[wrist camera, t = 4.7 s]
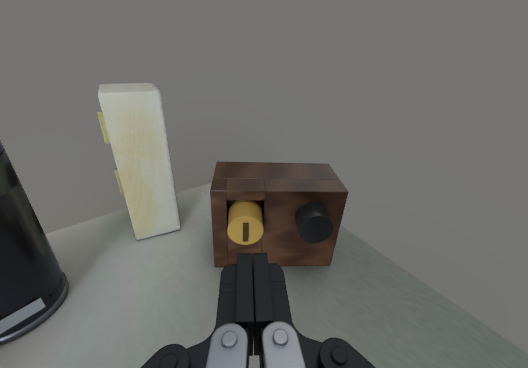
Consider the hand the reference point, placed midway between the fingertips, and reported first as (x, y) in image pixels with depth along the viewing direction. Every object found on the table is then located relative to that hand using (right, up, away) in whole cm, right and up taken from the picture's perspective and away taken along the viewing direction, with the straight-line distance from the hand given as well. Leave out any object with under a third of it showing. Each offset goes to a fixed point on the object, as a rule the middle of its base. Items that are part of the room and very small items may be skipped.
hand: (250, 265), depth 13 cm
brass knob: (-2, -2, +17) cm, 18 cm away
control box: (+2, -6, +24) cm, 25 cm away
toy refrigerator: (-18, -2, +29) cm, 34 cm away
